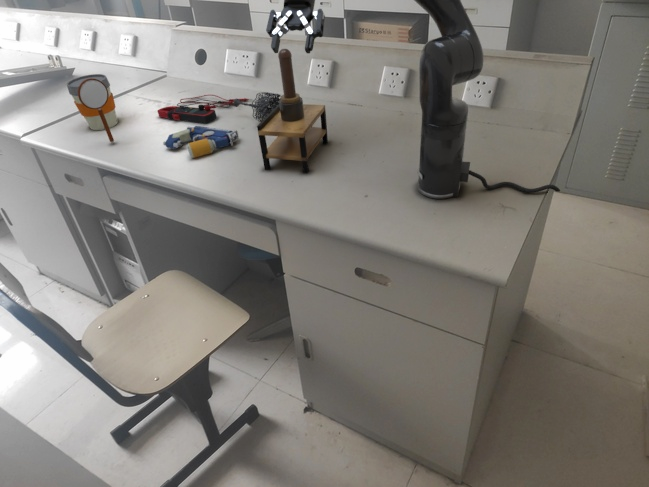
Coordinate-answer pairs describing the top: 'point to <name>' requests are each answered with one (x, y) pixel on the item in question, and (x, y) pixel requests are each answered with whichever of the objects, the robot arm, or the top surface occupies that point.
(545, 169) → the top surface
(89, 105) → the magnifying glass
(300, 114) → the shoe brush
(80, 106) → the reusable coffee cup
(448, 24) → the robot arm
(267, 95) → the massage brush
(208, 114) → the digital clamp meter
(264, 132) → the tan black-edged stand
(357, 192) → the top surface
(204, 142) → the spray gun
